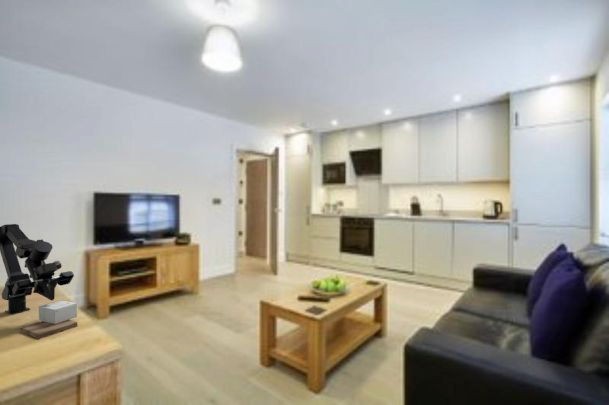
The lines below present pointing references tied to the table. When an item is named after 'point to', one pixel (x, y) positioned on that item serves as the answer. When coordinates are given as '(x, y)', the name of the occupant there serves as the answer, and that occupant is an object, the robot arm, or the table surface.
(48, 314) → the small box
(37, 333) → the floor panel
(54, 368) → the table surface
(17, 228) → the robot arm
